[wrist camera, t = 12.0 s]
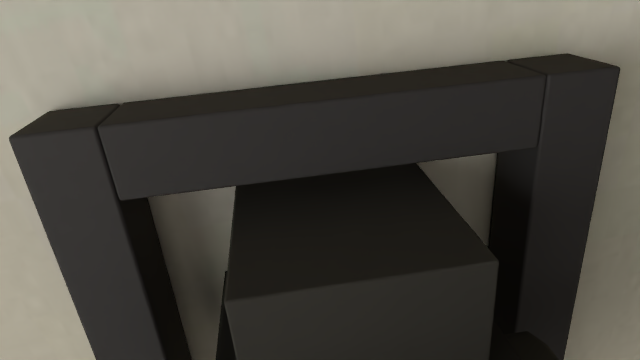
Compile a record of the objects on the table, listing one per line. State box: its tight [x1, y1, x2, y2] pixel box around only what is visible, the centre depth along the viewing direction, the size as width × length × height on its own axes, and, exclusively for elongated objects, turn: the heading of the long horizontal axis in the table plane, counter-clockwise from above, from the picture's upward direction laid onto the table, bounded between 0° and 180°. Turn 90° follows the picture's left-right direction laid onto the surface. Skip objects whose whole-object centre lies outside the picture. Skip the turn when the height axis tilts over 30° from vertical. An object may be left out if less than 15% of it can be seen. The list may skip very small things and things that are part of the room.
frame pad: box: [9, 54, 620, 360], centre depth 13 cm, size 14×13×2 cm
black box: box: [224, 163, 499, 360], centre depth 12 cm, size 5×8×5 cm, turn 5°
